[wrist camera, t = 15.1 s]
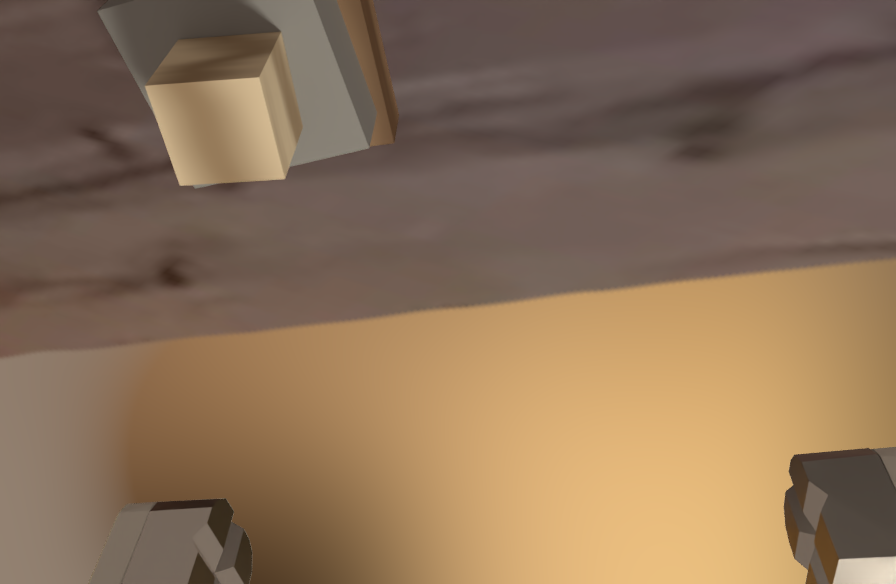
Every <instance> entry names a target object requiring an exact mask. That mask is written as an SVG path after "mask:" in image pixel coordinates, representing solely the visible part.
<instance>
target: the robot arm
mask: <svg viewBox="0 0 896 584" xmlns="http://www.w3.org/2000/svg"><path fill="white" fill-rule="evenodd" d="M789 474H790V476H791V479H792V482H793V486H792V487H791V488H789V489H788V490H787V491H786V493H785V501H784V515H785V526H786V531H787V535H788V539H789V543H790V546H791V549H792V552H793V556H794V558H795V559H796V560H797V561H798V562H799V563H800V564H801V565H803V566H804V567H805V568H806V569H807V570H808V573H807V578H806V584H896V447H890V448H879V449H869V448H866V449H855V450H843V451H831V452H821V453H809V454H798V455H794V456H793V458H792V459H791V462H790V467H789ZM233 513H234V511H233V509H232V507H231V506H230V504H229V503H228V501H227V500H226V499H225V498H224V499H206V500H187V501H169V502H149V503H136V504H135V503H134V504H126V505H125V507H124V508H123V509H122V510H121V511H120V512H119V513H118V515H117V517H116V519H115V521H114V524H113V526H112V529H111V531H110V534H109V536H108V538H107V540H106V543H105V545H104V547H103V550H102V552H101V555H100V557H99V559H98V562H97V564H96V566H95V569H94V571H93V573H92V576H91V578H90V580H89V583H88V584H249V582H250V578H251V574H252V549H251V545H250V540H249V538H248V536H247V534H246V532H245V530H244V529H243V528H241V527H240V526H238V525H236V524H234V523H233V522H231V520H232V517H233Z"/></svg>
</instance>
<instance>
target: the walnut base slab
mask: <svg viewBox="0 0 896 584" xmlns="http://www.w3.org/2000/svg"><path fill="white" fill-rule="evenodd" d="M337 2H338V5H339V8H340V11H341V14H342V16H343V19H344V22H345V25H346V27H347V30H348V33H349V36H350V39H351V41H352V44H353V47H354V50H355V52H356V55H357V58H358V61H359V64H360V66H361V69H362V72H363V75H364V77H365V80H366V83H367V86H368V89H369V91H370V94H371V97H372V100H373V102H374V105H375V108H376V111H377V116H376V120H375V125H374V129H373V134H372V138H371V143H370V146H376V145H384V144H391V143H394V141H395V135H396V129H397V124H398V118H399V113H398V109H397V104H396V100H395V95H394V91H393V87H392V82H391V78H390V74H389V69H388V65H387V60H386V56H385V52H384V47H383V43H382V38H381V34H380V30H379V25H378V21H377V17H376V12H375V8H374V3H373V0H337Z"/></svg>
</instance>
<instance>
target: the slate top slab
mask: <svg viewBox="0 0 896 584" xmlns="http://www.w3.org/2000/svg"><path fill="white" fill-rule="evenodd" d="M97 12H98V14H99V15H100V17H101V19H102V21H103V23H104V24H105V26H106V28H107V30H108V32H109V34H110V35H111V37H112V39H113V41H114V43H115V44H116V46H117V48H118V50H119V52H120V53H121V55H122V57H123V59H124V61H125V63H126V64H127V66H128V68H129V70H130V72H131V73H132V75H133V77H134V79H135V81H136V82H137V84H138V86H139V88H140V90H141V92H142V93H143V95H144V97H145V99H146V101H147V102H148V104H149V106H150V108H151V110H152V111H153V108H152V105H151V102H150V100H149V97H148V94H147V91H146V88H145V85H146V83H147V82H148V80H149V79H150V78H151V76H152V75H153V74H154V72H155V71H156V69H157V68H158V67H159V65H160V64H161V63H162V61H163V60H164V58H165V57H166V56H167V54H168V53H169V52H170V50H171V49H172V47H173V46H174V45H175V43H176V42H177V41H178V40H180V39H192V38H205V37H218V36H231V35H243V34H256V33H269V32H282V37H283V41H284V46H285V50H286V54H287V59H288V63H289V68H290V72H291V76H292V81H293V85H294V90H295V94H296V98H297V103H298V107H299V112H300V116H301V120H302V125H303V129H302V132H301V134H300V137H299V140H298V143H297V146H296V149H295V152H294V154H293V157H292V160H291V163H290V166H289V167H291V166H295V165H299V164H304V163H308V162H312V161H316V160H321V159H325V158H329V157H334V156H338V155H342V154H346V153H351V152H355V151H359V150H364V149H368V148H369V147H370V143H371V138H372V134H373V129H374V125H375V120H376V116H377V111H376V108H375V105H374V102H373V100H372V97H371V94H370V91H369V89H368V86H367V83H366V80H365V77H364V75H363V72H362V69H361V66H360V64H359V61H358V58H357V55H356V52H355V50H354V47H353V44H352V41H351V39H350V36H349V33H348V30H347V27H346V25H345V22H344V19H343V16H342V14H341V11H340V8H339V5H338V2H337V0H108V1H107V2H106V3H105V4H104V5H103V6H102V7H101V8H100V9H99V10H98V11H97ZM153 113H154V111H153ZM154 115H155V114H154ZM214 184H218V183H214ZM209 185H213V184H199V185H193V186H194V188H195V189H196V188H201V187H205V186H209Z"/></svg>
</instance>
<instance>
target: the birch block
mask: <svg viewBox="0 0 896 584" xmlns="http://www.w3.org/2000/svg"><path fill="white" fill-rule="evenodd" d="M145 88H146V91H147V94H148V97H149V100H150V102H151V105H152V108H153V111H154V114H155V117H156V119H157V122H158V125H159V128H160V131H161V133H162V136H163V139H164V142H165V145H166V148H167V150H168V153H169V156H170V159H171V162H172V165H173V167H174V170H175V173H176V176H177V179H178V182H179V184H180V186H183V185H199V184H214V183H230V182H246V181H261V180H277V179H285V177H286V175H287V172H288V169H289V166H290V163H291V160H292V157H293V154H294V152H295V149H296V146H297V143H298V140H299V137H300V134H301V132H302V129H303V125H302V120H301V116H300V112H299V107H298V103H297V98H296V94H295V90H294V85H293V81H292V76H291V72H290V68H289V63H288V59H287V54H286V50H285V46H284V41H283V37H282V32H269V33H256V34H243V35H231V36H218V37H205V38H192V39H180V40H178V41H177V42H176V43H175V45H174V46H173V47H172V49H171V50H170V52H169V53H168V54H167V56H166V57H165V58H164V60H163V61H162V63H161V64H160V65H159V67H158V68H157V69H156V71H155V72H154V74H153V75H152V76H151V78H150V79H149V80H148V82H147V83H146V85H145Z"/></svg>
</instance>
